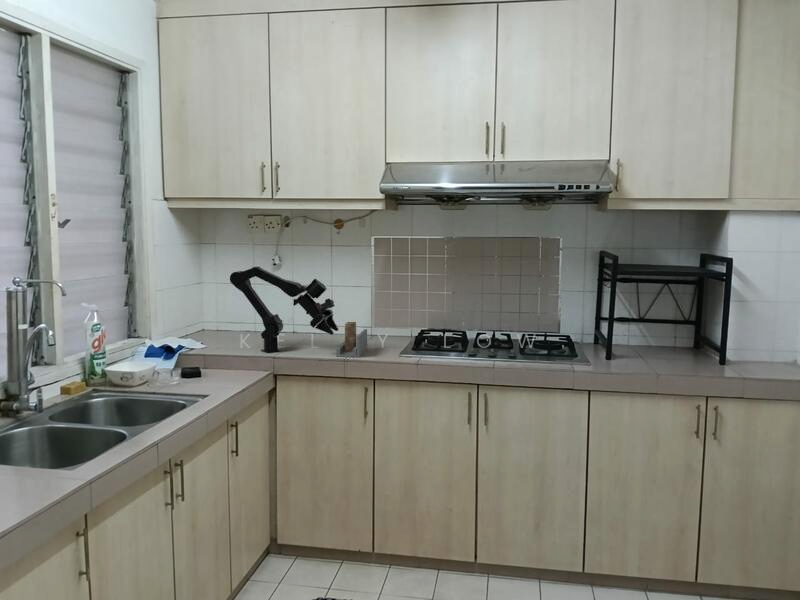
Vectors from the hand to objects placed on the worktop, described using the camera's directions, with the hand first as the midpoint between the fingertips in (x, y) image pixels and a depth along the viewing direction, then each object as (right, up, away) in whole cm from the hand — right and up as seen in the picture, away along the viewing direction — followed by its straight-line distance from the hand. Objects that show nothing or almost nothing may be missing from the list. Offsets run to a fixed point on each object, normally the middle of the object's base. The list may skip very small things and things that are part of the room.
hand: (335, 332), depth 275 cm
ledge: (+7, -9, 0) cm, 11 cm away
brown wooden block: (+7, -8, 0) cm, 10 cm away
